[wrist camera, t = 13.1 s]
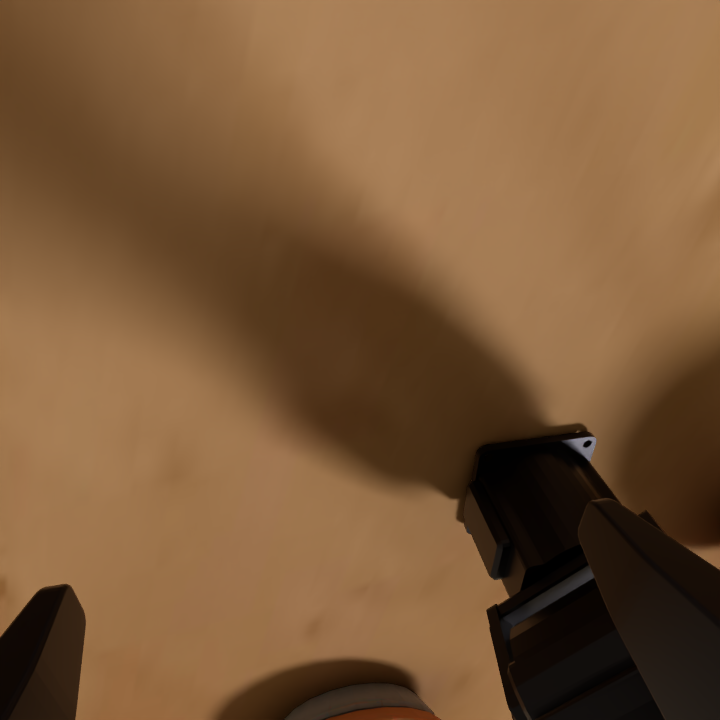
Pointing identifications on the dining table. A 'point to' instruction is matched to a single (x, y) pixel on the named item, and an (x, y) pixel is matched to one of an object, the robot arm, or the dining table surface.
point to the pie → (364, 704)
